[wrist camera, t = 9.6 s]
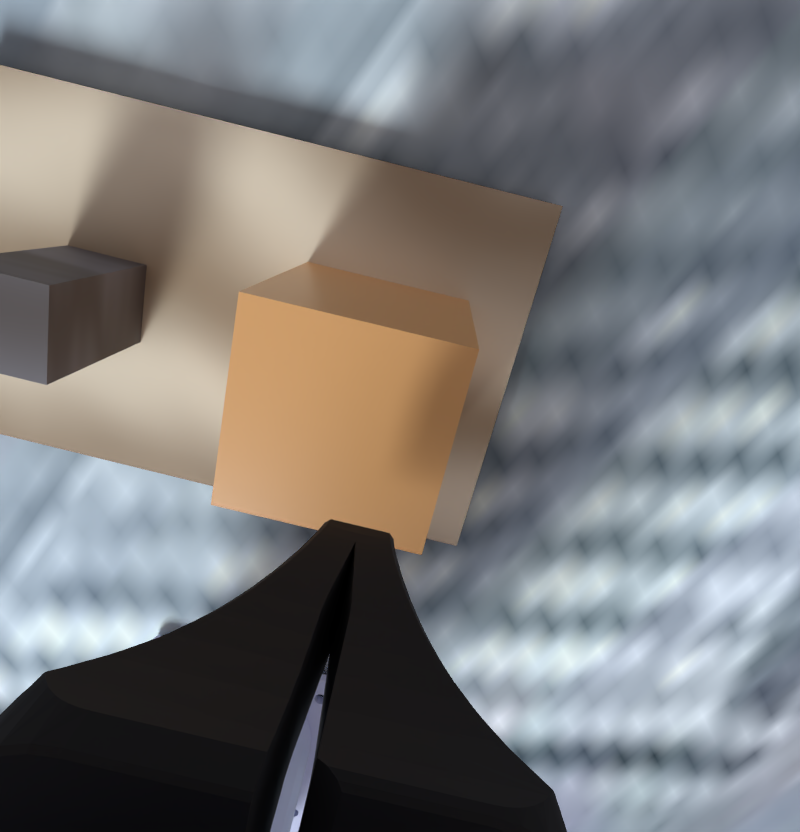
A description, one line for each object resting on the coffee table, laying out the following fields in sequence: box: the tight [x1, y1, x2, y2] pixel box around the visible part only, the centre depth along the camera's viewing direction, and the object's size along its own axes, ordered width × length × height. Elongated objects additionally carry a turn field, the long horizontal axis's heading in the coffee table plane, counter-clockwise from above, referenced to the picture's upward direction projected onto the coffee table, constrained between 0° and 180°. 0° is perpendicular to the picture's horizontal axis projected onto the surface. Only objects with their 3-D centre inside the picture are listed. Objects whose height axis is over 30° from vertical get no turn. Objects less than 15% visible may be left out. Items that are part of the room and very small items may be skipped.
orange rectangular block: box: [211, 262, 479, 555], centre depth 17 cm, size 5×5×7 cm
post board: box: [0, 65, 563, 546], centre depth 18 cm, size 12×18×6 cm, turn 78°
